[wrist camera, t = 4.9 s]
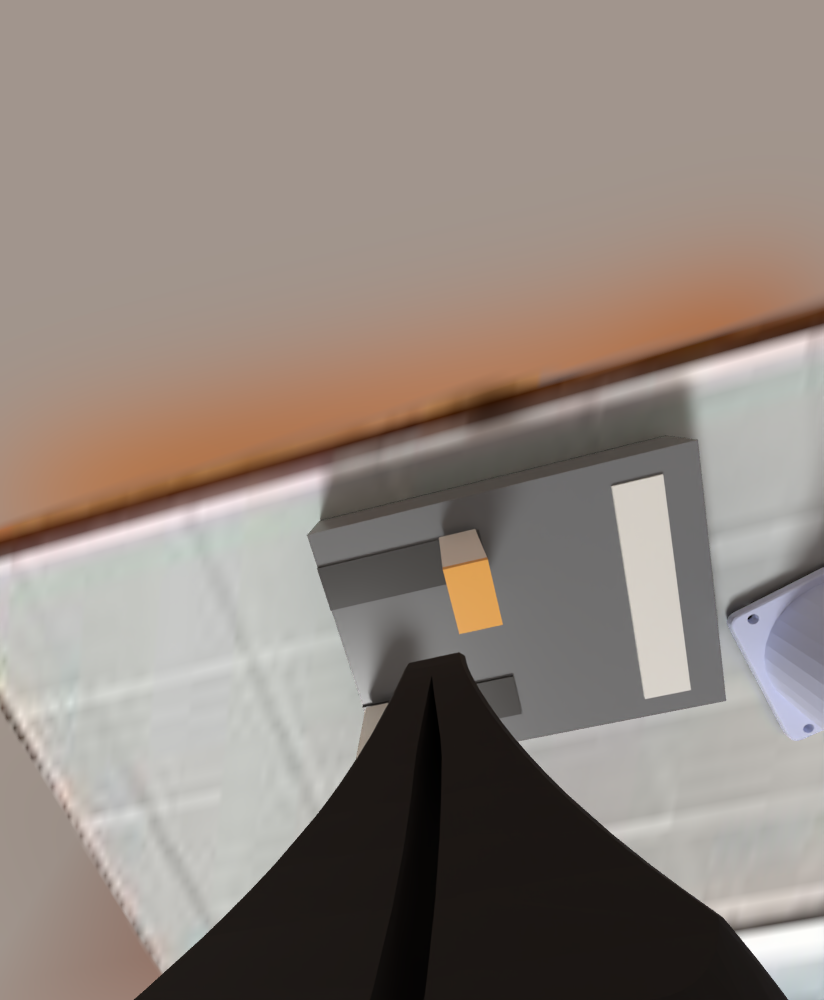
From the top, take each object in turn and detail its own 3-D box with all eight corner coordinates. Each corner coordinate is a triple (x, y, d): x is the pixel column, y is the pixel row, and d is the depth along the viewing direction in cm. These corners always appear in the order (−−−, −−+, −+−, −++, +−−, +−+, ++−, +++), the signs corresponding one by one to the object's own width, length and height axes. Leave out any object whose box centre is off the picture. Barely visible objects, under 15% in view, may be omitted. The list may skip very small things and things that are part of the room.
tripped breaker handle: (475, 528, 17) (487, 559, 14) (487, 582, 17) (503, 624, 14) (438, 537, 17) (442, 569, 14) (452, 590, 18) (459, 634, 14)
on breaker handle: (397, 700, 19) (392, 760, 16) (411, 744, 19) (409, 810, 16) (365, 707, 19) (354, 767, 16) (379, 750, 19) (371, 817, 16)
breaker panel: (665, 435, 18) (699, 440, 16) (694, 670, 21) (727, 702, 19) (319, 520, 20) (306, 535, 17) (386, 732, 22) (382, 769, 20)
